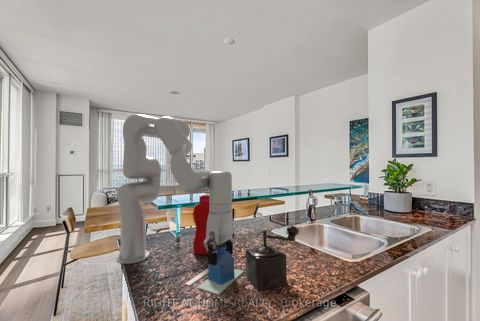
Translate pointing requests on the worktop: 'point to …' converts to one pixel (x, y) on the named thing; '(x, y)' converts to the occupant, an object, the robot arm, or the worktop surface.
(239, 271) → the mat
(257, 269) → the dark brown coffee grinder
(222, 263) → the perfume bottle
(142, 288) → the worktop surface
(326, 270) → the worktop surface
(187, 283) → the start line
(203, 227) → the water bottle
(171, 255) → the worktop surface
